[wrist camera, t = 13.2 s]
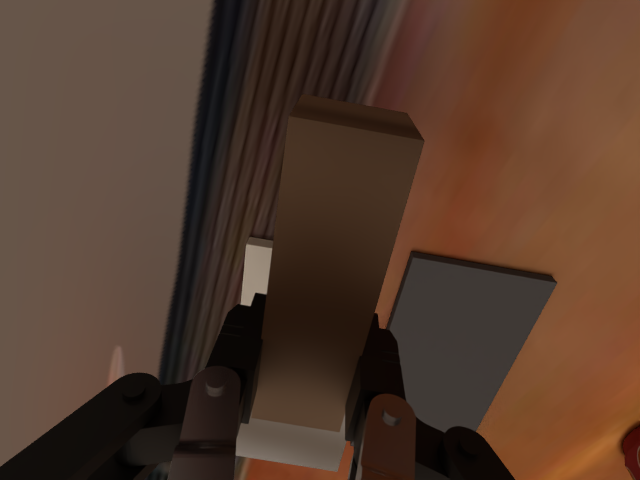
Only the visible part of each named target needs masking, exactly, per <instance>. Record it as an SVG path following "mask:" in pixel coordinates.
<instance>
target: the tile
mask: <svg viewBox="0 0 640 480" xmlns="http://www.w3.org/2000/svg"><path fill="white" fill-rule="evenodd" d="M272 247H273V241H271V240H266V239H260V238H254V237H249V239H248V242H247V244H246V254H245V265H244V276H243V286H242V297H241V305H247V306H251V303H252V300H253V297H254V294H255V293H262V294H267V287H268V279H269V271H270V263H271V255H272Z"/></svg>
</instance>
